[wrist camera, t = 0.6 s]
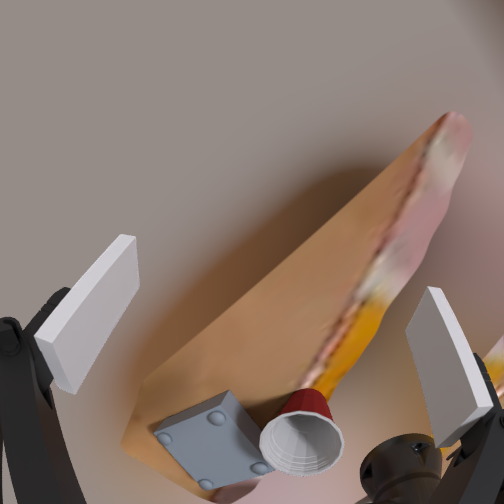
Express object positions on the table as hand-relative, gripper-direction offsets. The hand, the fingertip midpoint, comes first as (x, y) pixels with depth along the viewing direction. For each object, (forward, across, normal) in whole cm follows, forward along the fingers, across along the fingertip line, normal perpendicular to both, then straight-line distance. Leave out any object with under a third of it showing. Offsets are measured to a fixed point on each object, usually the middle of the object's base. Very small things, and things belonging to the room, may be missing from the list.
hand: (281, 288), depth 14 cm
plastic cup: (+18, -10, +34) cm, 40 cm away
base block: (+15, +3, +46) cm, 48 cm away
